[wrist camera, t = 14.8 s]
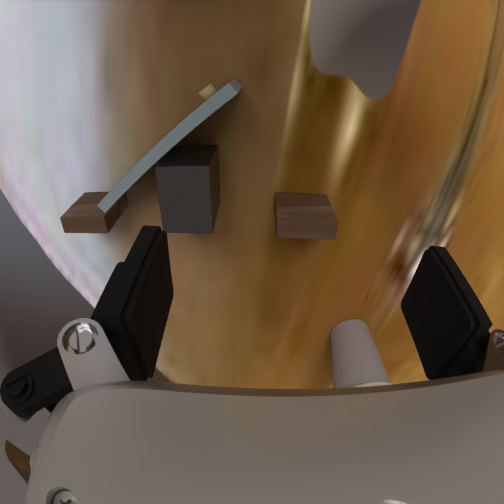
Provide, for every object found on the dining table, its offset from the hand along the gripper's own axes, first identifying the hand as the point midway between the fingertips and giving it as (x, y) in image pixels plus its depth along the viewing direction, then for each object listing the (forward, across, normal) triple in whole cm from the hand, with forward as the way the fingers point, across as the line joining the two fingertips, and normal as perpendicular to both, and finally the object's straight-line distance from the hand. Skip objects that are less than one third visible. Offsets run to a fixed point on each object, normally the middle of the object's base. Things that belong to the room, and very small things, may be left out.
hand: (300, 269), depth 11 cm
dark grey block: (+25, +8, +7) cm, 27 cm away
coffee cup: (+24, -16, +32) cm, 43 cm away
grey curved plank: (+24, +11, +2) cm, 27 cm away
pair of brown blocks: (+24, +8, +10) cm, 28 cm away
